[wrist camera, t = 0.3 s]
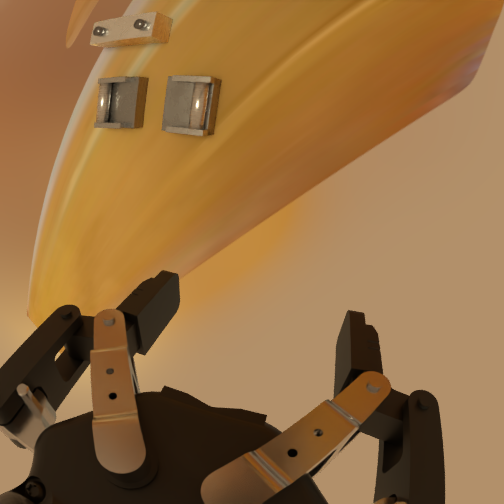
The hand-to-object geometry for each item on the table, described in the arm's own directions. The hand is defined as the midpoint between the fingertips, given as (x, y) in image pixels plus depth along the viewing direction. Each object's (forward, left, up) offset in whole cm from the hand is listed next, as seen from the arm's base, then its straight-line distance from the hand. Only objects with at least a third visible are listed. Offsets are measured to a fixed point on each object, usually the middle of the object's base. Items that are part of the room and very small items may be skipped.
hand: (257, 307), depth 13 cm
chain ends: (-8, -23, -29) cm, 38 cm away
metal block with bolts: (-20, -29, -30) cm, 46 cm away
